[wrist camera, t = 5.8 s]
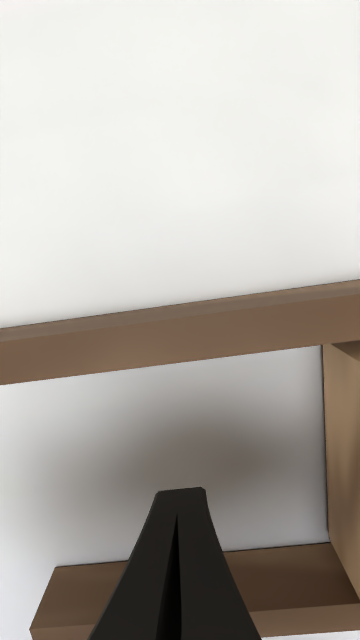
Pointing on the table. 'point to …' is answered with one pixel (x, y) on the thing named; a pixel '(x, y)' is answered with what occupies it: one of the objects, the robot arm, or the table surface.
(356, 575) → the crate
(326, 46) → the table surface
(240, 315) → the bay
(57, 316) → the table surface
